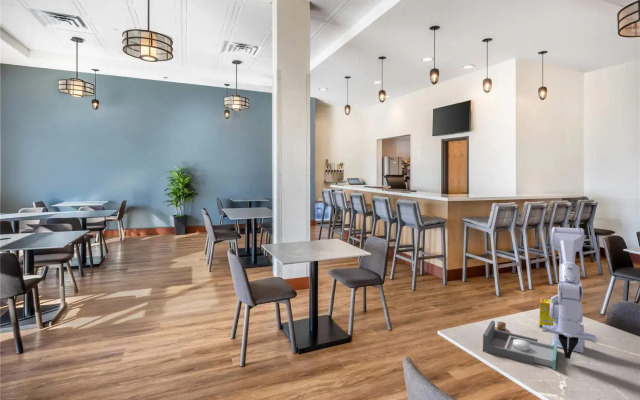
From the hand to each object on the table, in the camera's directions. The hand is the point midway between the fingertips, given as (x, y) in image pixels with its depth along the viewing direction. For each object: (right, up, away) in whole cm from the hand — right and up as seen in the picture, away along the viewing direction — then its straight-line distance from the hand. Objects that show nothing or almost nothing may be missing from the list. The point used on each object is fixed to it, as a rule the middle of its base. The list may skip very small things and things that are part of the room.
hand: (567, 357), depth 115 cm
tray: (-8, -2, +6) cm, 10 cm away
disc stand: (-9, -1, +24) cm, 26 cm away
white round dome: (-11, 0, +8) cm, 14 cm away
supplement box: (+13, -1, +29) cm, 32 cm away
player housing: (-14, -1, +10) cm, 17 cm away
